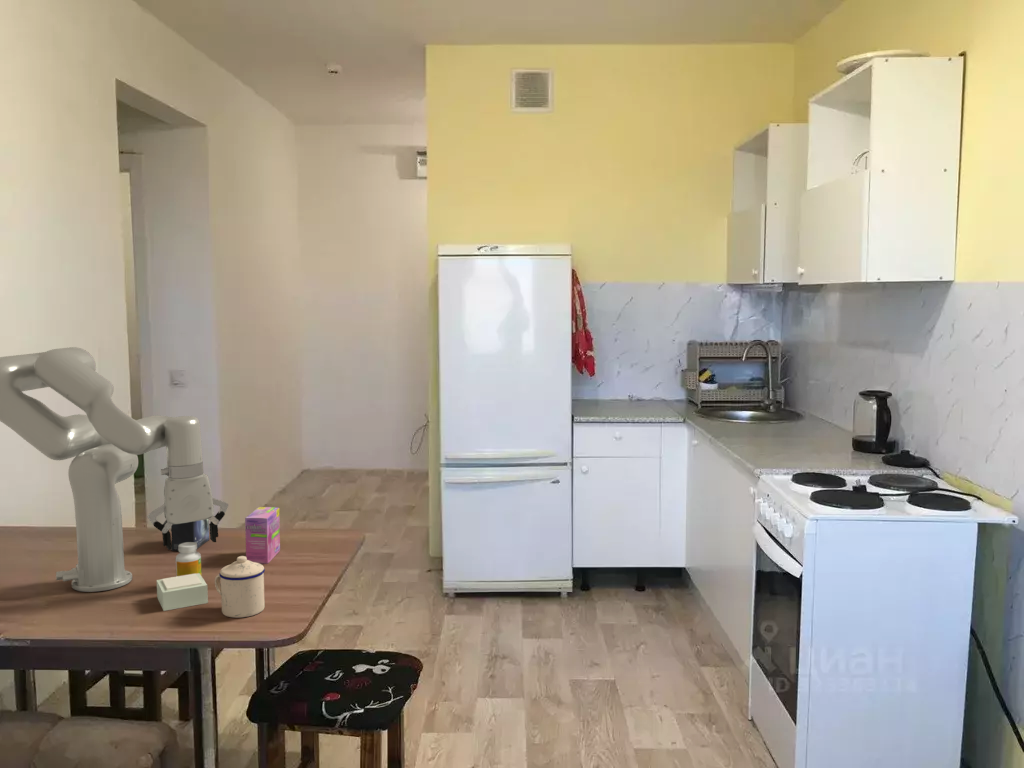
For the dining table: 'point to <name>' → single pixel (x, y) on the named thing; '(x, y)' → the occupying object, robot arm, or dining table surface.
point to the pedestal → (182, 591)
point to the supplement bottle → (188, 559)
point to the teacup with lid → (241, 588)
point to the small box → (190, 533)
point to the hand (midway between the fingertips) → (191, 544)
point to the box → (262, 534)
